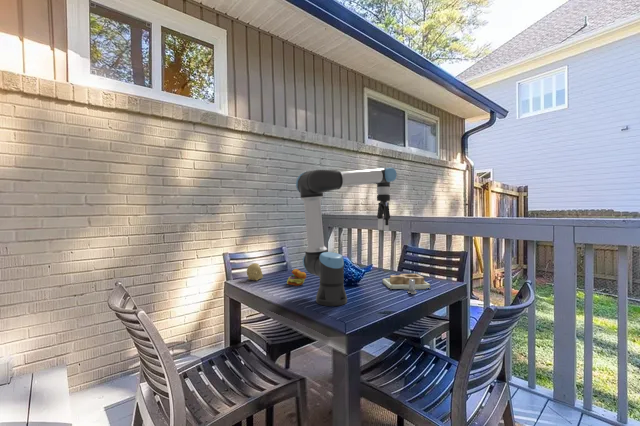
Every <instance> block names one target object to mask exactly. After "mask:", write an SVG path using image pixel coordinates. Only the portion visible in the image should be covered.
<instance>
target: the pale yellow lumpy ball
mask: <svg viewBox="0 0 640 426" xmlns="http://www.w3.org/2000/svg"><path fill="white" fill-rule="evenodd" d="M262 272H263V271H262V268H261V265H260V264H259V263H258V262H257V263H255V262H254V263H251V264H249V266H248V267H247V268H246V276H247V277H248V279H247V280H250V281H251V280H252V281H258V280H261V279H263V277H264V274H263V273H262Z"/></svg>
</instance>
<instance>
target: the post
mask: <svg viewBox="0 0 640 426" xmlns="http://www.w3.org/2000/svg"><path fill="white" fill-rule="evenodd" d="M407 292H408V293H411V294H410V295H417V294H418V292H417V291H416V289H415V280H413V279H410V280H409V289H408V290H407V291H406V293H407ZM408 293H407V294H408ZM416 293H417V294H416Z"/></svg>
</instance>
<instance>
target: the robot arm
mask: <svg viewBox="0 0 640 426" xmlns="http://www.w3.org/2000/svg"><path fill="white" fill-rule="evenodd" d="M397 176H398V175H397V171H396V169H395V168H394V167H378V168H372V169H356V170H345V171H344V170H343V171H340V169H316V170H314V169H313V170H308V171H304V172H302V173H300V174H299V175H298V176H297V178H296V181H295V187H296V190H297V192H298V193H300V194H299V196H300V199H301V200H302V201H303V205H304V208H303V209H304V216H305V217H304V218H305V220H304V221H305V228H306V231H305V232H306V241H307V247H306V249H305V250H304V252H305V254H304V256H303V258H302V266H303V268H304V270H305V271H306V272H307V273H309V274H310V275H313V276H316V277H319V287H318V290H317V292H316V296H315V302H316V303H317V304H318V305H320V306H325V307H326V306H327V307H338V306H339V307H340V306H343V305H344V306H345V305H346V304H347V303H348V296H347V293H346V290H345V289H346V288H345V286H344V280H345V279H344V277H345V276H344V271H345V268H344V266H345V262H344V257H343V255H342V254H340V253H339V252H333V251H328V248H327V246H325V240H324V230H323V229H324V228H323V216H322V205H321V200H322V199H323V198H324V193H327V192H331V191H334V190H335V191H336V190H337V191H338V190H340V189H342V188H345V187H352V186H361V185H363V186H364V185H371V184H373V185H376V194H377V195H376V201H377V202H378V203H377V204H378V206H377V213H376V217H377V230H383V232H389V231H390V220H391V213H390V205H389V204H390V203H389V202H390V200H391V195H390V194H391V190H392V188H391V182H394V181H395V180H396V179H397Z"/></svg>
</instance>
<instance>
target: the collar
mask: <svg viewBox="0 0 640 426" xmlns="http://www.w3.org/2000/svg"><path fill="white" fill-rule="evenodd" d="M389 278H390V284H391V285H409V280H410V279H413V280H415V284H424V281H425V277H424V276H422V275H420V274H419V273H399V274H397V275H396V274H395V275H394V274H393V275H392V274H391V275H389Z"/></svg>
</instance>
